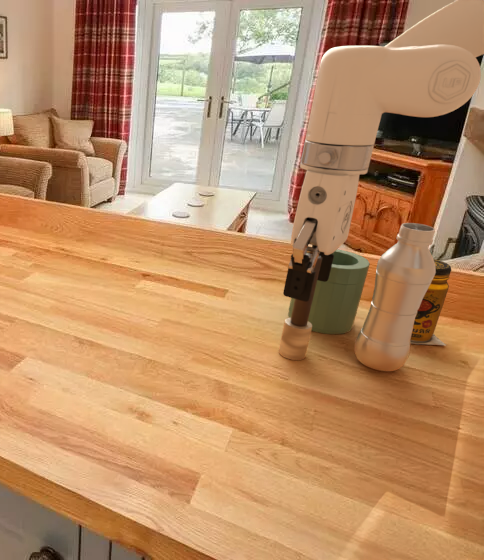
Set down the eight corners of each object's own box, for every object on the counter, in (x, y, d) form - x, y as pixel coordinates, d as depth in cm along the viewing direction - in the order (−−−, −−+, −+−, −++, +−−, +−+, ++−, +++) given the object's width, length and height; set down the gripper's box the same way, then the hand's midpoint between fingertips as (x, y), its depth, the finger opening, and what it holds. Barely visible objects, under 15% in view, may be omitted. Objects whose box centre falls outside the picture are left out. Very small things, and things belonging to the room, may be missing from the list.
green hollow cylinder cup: (358, 318, 81) (375, 256, 77) (343, 340, 75) (361, 274, 70) (298, 302, 87) (311, 243, 83) (279, 321, 80) (292, 258, 76)
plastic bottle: (410, 365, 68) (456, 228, 61) (393, 383, 64) (440, 238, 56) (361, 347, 73) (398, 216, 65) (342, 363, 69) (379, 225, 61)
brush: (308, 353, 71) (331, 256, 65) (300, 363, 69) (323, 263, 63) (283, 344, 73) (303, 249, 67) (274, 354, 71) (294, 256, 65)
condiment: (394, 342, 74) (417, 269, 70) (370, 317, 82) (390, 249, 77) (446, 346, 73) (472, 272, 69) (417, 320, 81) (439, 252, 77)
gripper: (351, 170, 52) (316, 318, 58) (383, 153, 64) (351, 277, 71) (279, 162, 56) (254, 300, 63) (322, 147, 68) (297, 264, 75)
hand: (306, 287), depth 67 cm, fingers open, 8 cm apart
